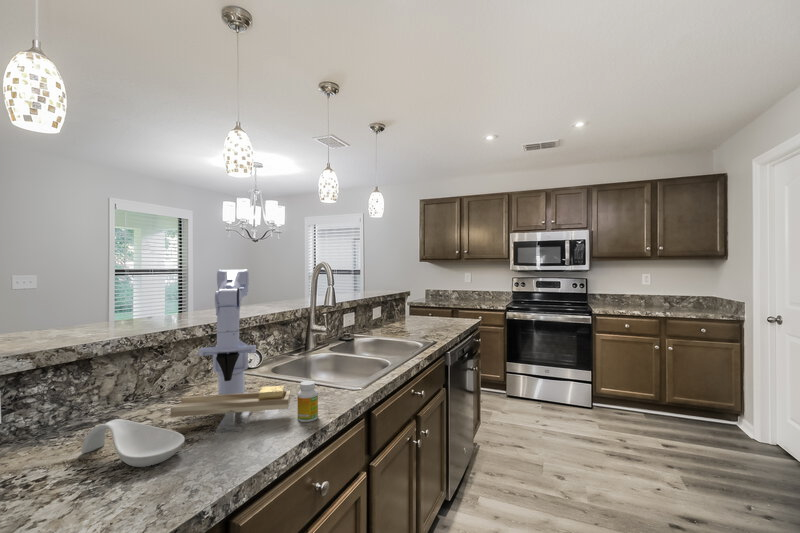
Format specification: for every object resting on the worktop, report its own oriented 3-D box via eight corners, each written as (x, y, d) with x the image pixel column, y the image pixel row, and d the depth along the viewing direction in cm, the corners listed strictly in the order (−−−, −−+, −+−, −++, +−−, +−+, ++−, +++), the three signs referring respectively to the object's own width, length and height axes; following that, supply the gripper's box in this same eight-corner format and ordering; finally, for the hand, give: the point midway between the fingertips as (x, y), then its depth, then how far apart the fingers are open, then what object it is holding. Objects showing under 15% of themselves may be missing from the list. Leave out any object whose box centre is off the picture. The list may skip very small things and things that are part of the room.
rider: (261, 397, 101) (261, 386, 101) (284, 396, 102) (284, 385, 102) (258, 404, 96) (258, 392, 96) (282, 402, 97) (282, 391, 97)
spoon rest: (196, 450, 82) (196, 418, 82) (148, 479, 70) (148, 442, 71) (116, 439, 88) (116, 409, 88) (60, 464, 77) (60, 430, 77)
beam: (182, 407, 98) (182, 396, 98) (290, 400, 104) (290, 389, 104) (170, 419, 90) (170, 407, 90) (287, 411, 96) (288, 399, 96)
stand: (228, 414, 102) (228, 398, 102) (251, 412, 103) (251, 396, 103) (216, 433, 90) (216, 414, 90) (242, 430, 91) (241, 412, 92)
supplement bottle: (312, 423, 96) (312, 386, 96) (293, 421, 97) (293, 385, 97) (321, 415, 101) (320, 380, 101) (303, 414, 102) (303, 379, 102)
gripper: (195, 334, 97) (194, 386, 96) (252, 331, 100) (253, 381, 99) (203, 331, 103) (203, 379, 103) (257, 328, 107) (257, 375, 106)
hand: (228, 380), depth 101 cm, fingers closed
